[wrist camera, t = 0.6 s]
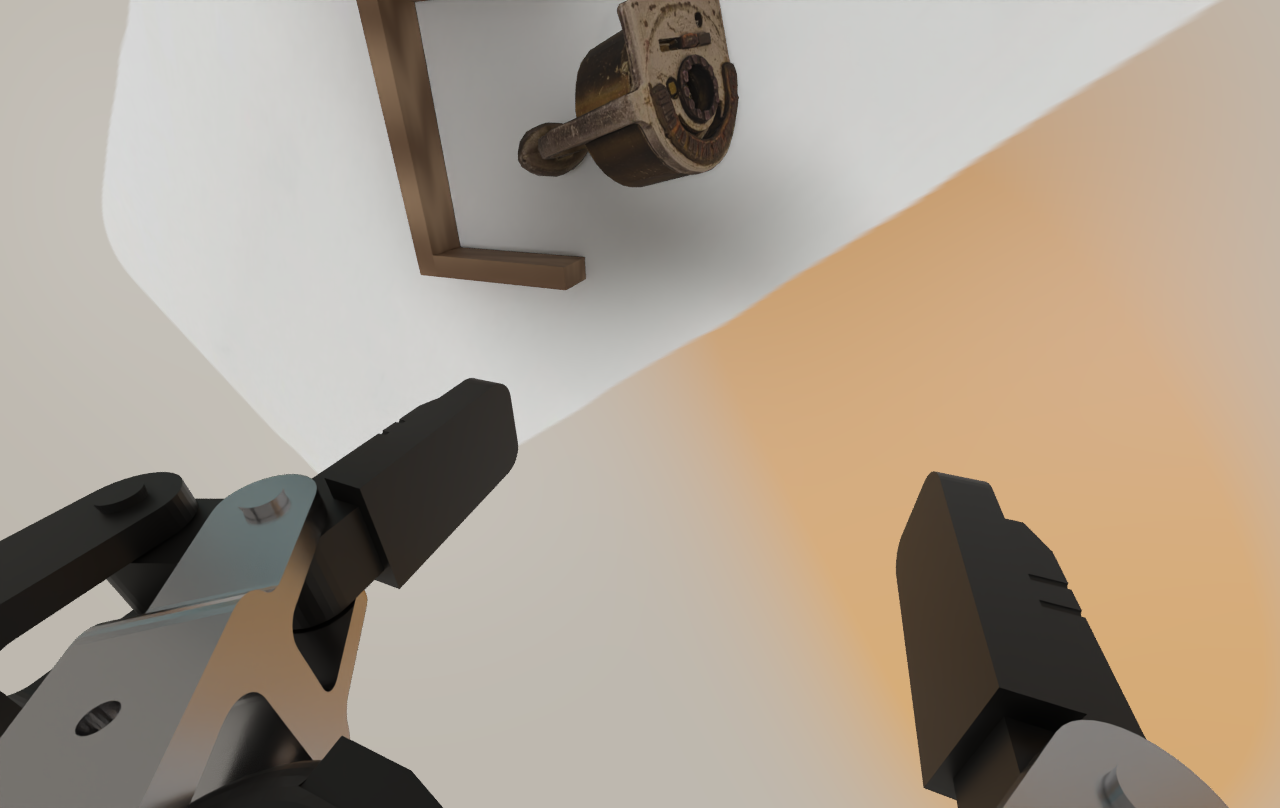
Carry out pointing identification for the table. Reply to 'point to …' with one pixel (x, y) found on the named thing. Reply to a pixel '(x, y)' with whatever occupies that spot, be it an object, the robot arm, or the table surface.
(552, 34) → the table surface
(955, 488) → the robot arm
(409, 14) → the bracket
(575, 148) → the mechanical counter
